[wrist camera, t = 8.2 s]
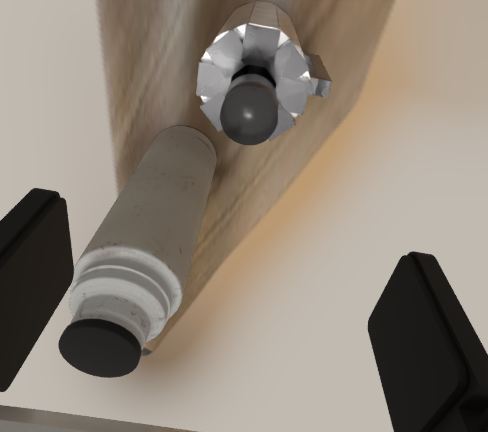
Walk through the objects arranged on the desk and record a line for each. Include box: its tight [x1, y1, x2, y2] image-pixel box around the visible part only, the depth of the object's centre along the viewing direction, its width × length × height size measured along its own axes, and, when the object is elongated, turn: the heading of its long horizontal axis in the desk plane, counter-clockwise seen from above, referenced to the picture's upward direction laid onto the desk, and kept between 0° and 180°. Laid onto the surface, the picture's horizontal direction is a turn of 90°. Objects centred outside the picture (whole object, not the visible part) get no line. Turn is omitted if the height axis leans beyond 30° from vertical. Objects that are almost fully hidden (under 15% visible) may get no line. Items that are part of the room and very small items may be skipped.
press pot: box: [196, 0, 332, 141], centre depth 32 cm, size 8×10×16 cm
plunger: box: [220, 64, 278, 145], centre depth 29 cm, size 5×5×18 cm
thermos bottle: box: [59, 126, 217, 378], centre depth 35 cm, size 8×8×28 cm
